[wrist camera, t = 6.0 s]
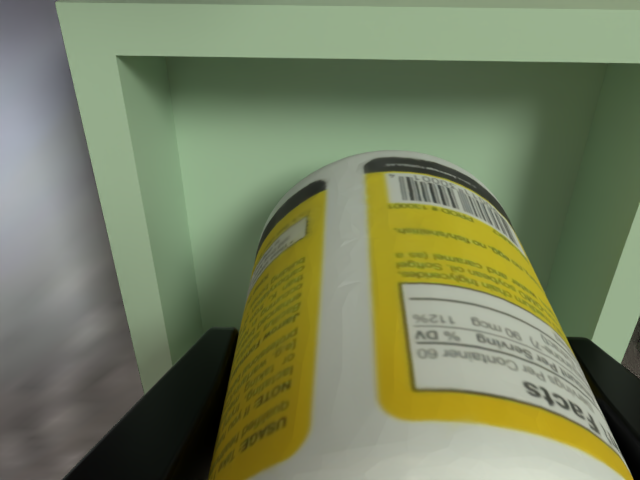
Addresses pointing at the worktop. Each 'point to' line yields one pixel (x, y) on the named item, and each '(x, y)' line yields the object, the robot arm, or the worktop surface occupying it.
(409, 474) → the supplement bottle
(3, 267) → the worktop surface
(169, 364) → the tray
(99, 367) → the worktop surface
